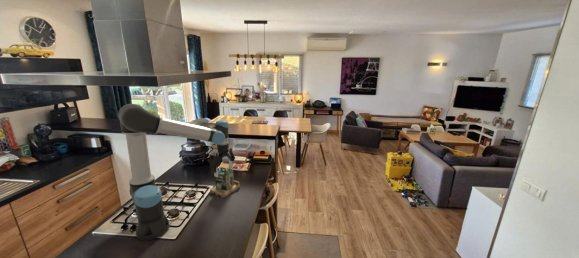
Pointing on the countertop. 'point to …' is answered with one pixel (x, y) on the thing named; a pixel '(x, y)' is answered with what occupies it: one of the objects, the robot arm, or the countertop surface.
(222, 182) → the chalk box
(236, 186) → the dock
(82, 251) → the countertop surface
